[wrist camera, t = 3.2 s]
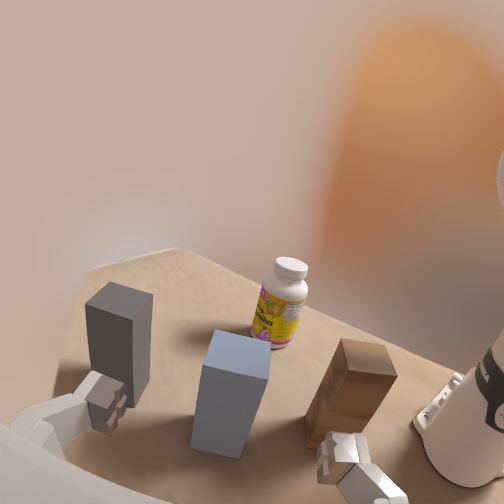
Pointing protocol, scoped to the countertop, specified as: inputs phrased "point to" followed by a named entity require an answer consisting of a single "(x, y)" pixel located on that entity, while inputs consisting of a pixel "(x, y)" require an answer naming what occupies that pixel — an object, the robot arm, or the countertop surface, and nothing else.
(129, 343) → the charcoal block
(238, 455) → the slate-blue block
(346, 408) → the walnut block
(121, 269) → the countertop surface
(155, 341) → the countertop surface
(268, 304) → the supplement bottle
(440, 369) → the countertop surface
